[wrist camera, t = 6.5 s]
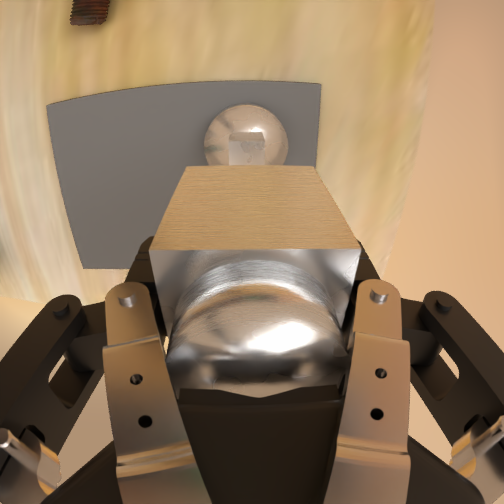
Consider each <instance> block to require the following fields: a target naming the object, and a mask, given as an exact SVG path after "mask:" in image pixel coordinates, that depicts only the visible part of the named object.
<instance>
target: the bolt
mask: <svg viewBox="0 0 504 504" xmlns="http://www.w3.org/2000/svg"><path fill="white" fill-rule="evenodd" d="M73 2H74V3H73V4H72V5H73V6H74V7H72V8H71V9H72V11H71V13H72V14H71V15H70V17H72V18H70V19H69V20H70V21H71V22H70V24H71V25H92V24H102V23H103V22H104V21H106V20H105V19H104V18H106V17H107V16H106V14H108V13H107V12H106V11H107V10H108V9H107V7H109V5H108V3H110V2H109V1H108V0H73Z"/></svg>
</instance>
